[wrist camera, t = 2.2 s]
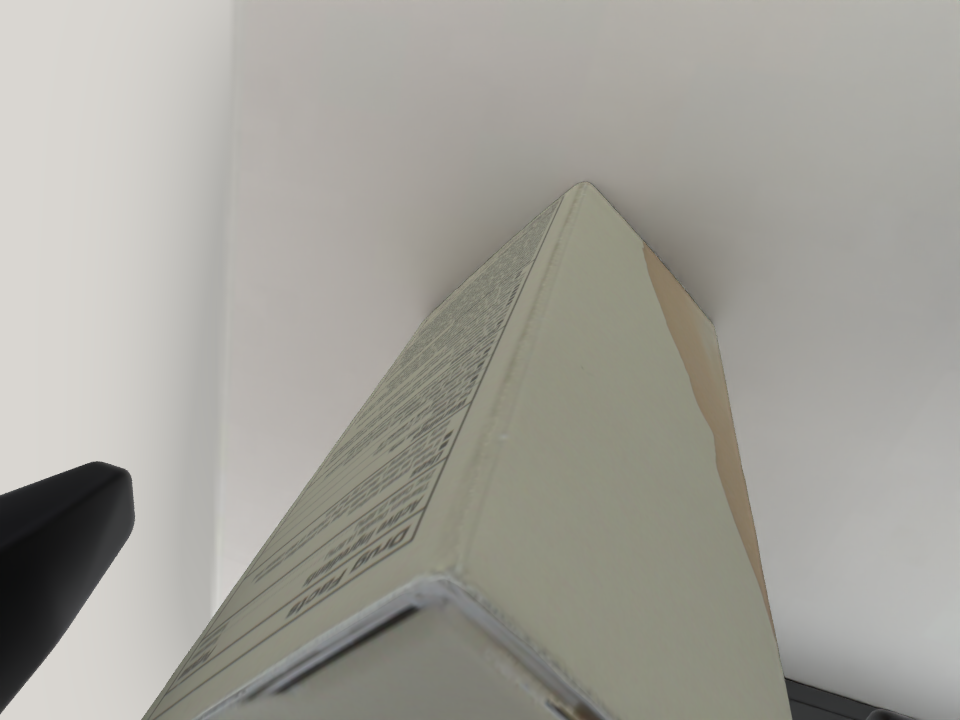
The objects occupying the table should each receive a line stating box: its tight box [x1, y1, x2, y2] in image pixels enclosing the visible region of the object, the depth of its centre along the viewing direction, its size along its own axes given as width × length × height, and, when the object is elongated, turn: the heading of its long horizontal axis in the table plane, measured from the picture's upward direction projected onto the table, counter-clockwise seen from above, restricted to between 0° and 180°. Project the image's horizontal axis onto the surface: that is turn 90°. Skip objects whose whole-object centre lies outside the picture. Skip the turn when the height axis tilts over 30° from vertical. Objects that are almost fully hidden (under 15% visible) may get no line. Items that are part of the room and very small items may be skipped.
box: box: [142, 182, 792, 720], centre depth 10 cm, size 5×4×11 cm
